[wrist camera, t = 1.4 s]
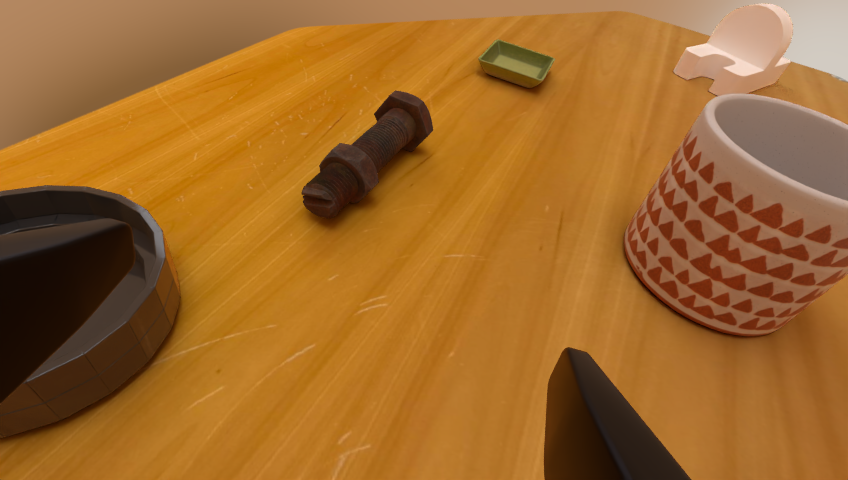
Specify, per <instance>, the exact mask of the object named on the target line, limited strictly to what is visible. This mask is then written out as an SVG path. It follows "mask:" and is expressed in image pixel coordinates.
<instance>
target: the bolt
mask: <svg viewBox="0 0 848 480" xmlns="http://www.w3.org/2000/svg"><path fill="white" fill-rule="evenodd" d="M374 115H375V117H376V120H377V123H376V124H375V125H374V126H373V127H371V128H370V129H369V130H367V131H366V132H365V133H364V134H363V135H362V136H361V137H360V138H359V139H357V140H356V141H355V142H354V143H353V144H352V145H348V144H342V143H340V144H338V145H337V146H336V147H335V148H334V149H332V150H331V152H330V153H329V154H328V155H327V156H326V157H325V158H324V160H323V161H322V162H321V164H320V165H319V167H320V173H319V174H318V175H316V176H315V177H314V178H313V179H312V180H311V181H310V182H308V183H307V185H306V186H304V188H303V190H302V194H303V195H304V196H303V198H304V200H303V203H304V205H305V207H306V208H307V209H308V210H309V211H311V212H312V213H314V214H316V215H317V216H320V217H324V218H333V217H335V216H336V215H337V214H338V213H339V212H340V210H342V209H343V208H344V207H345V206H346V205H347V203H349V202H354V203H358V202H359V201H360V200H361V199H363V198H364V197H365V196H366V195H367V194H368V193H369V192H370V191H371V190H372V189H373V188H374V186H375V185H376V184H377V183H378V182H379V180H378V174H377V173H378V172H379V171H380V170H381V169H382V168H383V167H384V166H385V165H386V164H387V163H388V162H389V161H390V160H391V159H392V158H393V157H394V156H395V155H396V154H397V153H398V152H399V150H401V149H405V150H407V151H410V152H412V151H413V150H414V149H415V148H416V147H417V146H418V145H419V144H420V143H421V142H422V141H423V140H424V139H425V138H426V137H427V136H428V135H429V134H430V133H431V132H432V131H433V126H432V120H431V116H430V113H429V110H428V108H427V106H426V105H425V103H424V102H423V101H422V100H421V99H419V98H418V97H416V96H414V95H412V94H409V93H406V92H401V91H394V92H393V93H392V94H391V95H389V97H388V98H387V99H386V100H385V101H384V103H383V104H382V105H381V106H380V107H379V109H378V110H377V111H376V112H375V113H374Z"/></svg>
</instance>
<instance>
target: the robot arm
mask: <svg viewBox="0 0 848 480" xmlns="http://www.w3.org/2000/svg"><path fill="white" fill-rule="evenodd" d="M134 263H135V249H134V241H133V233H132V228H131V227H130V225H129V224H127V223H125V222H122V221H118V220H114V219H110V218H104V219H98V220H92V221H86V222H79V223H73V224H67V225H61V226H55V227H48V228H42V229H36V230H30V231H24V232H17V233H11V234H5V235H0V404H1V403H2V402H4V401H5V400H6V399H7V398H8V397H9V396H10V395H11V394H12V393H13V392H14V391H15V390H16V389H17V388H18V387H19V386H20V385H21V384H22V383H23V382H24V381H25V380H27V379H28V378H29V377H30V376H31V375H32V374H33V373H34V372H35V371H36V370H37V369H38V368H39V367H40V366H41V365H42V364H43V363H44V362H45V361H46V360H47V359H48V358H50V357H51V356H52V355H53V354H54V353H55V352H56V351H57V350H58V349H59V348H60V347H61V346H62V345H63V344H64V343H65V342H66V341H67V340H68V339H69V338H70V337H71V336H73V335H74V334H75V333H76V332H77V331H78V330H79V329H80V328H81V327H82V325H83V324H84V323H85V322H86V321H87V320H88V319H89V318H90V317H91V316H92V314H93V313H94V312H95V311H96V310H97V309H98V307H99V306H100V305H101V304H102V303H103V302H104V300H105V299H106V298H107V297H108V296H109V295H110V293H111V292H112V291H113V290H114V289H115V288H116V286H117V285H118V284H119V283H120V282H121V281H122V280H123V278H124V277H125V276H126V275H127V274H128V273H129V271H130V270H131V269H132V267H133V265H134ZM544 477H545V480H691V479H690V477H689V476H688V475H687V474H686V472H685V471H684V470H683V469H682V468H681V466H680V465H679V464H678V463H677V461H676V460H675V459H674V458H673V457H672V455H671V454H670V453H669V452H668V450H667V449H666V448H665V447H664V446H663V444H662V443H661V442H660V441H659V439H658V438H657V437H656V436H655V435H654V433H653V432H652V431H651V430H650V428H649V427H648V426H647V425H646V424H645V422H644V421H643V420H642V419H641V417H640V416H639V415H638V414H637V412H636V411H635V410H634V409H633V408H632V406H631V405H630V404H629V403H628V401H627V400H626V399H625V398H624V397H623V395H622V394H621V393H620V392H619V390H618V389H617V388H616V387H615V386H614V384H613V383H612V382H611V381H610V379H609V378H608V377H607V376H606V375H605V373H604V372H603V371H602V370H601V368H600V367H599V366H598V365H597V364H596V362H595V361H594V360H593V359H592V357H591V356H590V355H589V354H588V353H587V352H584V351H581V350H577V349H573V348H570V347H568V348H565V349H564V350H563V352H562V353H561V356H560V358H559V360H558V362H557V364H556V366H555V368H554V370H553V372H552V374H551V376H550V379H549V383H548V390H547V408H546V427H545V445H544Z"/></svg>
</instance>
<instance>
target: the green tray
mask: <svg viewBox="0 0 848 480" xmlns="http://www.w3.org/2000/svg"><path fill="white" fill-rule="evenodd" d="M554 61H555V59H554V58H553V57H550V56H548V55H545V54H541V53H538V52H536V51H532V50H529V49H526V48H523V47H520V46H517V45H514V44H511V43H508V42H505V41H502V40H499V39H497V40H495V41H494V42H493V43H492V45H491V46H490V47H489V48H488V49H487V50H486V51H485V52H484V53H483V54H482V55H481V56H480V57H479V62H480V64H481V66H482V68H483V69H484V71H485V72H486V73H487V74H489V75H492V76H494V77H497V78H500V79H503V80H506V81H509V82H512V83H515V84H518V85H521V86H524V87H526V88H532V87H534V86H536V85H538V84H540V83H541V82H542V81H543V80H544V78H545V76H546V75H547V73H548V71H549V69H550V68H551V66H552V64H553V62H554Z"/></svg>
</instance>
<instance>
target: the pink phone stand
mask: <svg viewBox="0 0 848 480" xmlns="http://www.w3.org/2000/svg"><path fill="white" fill-rule="evenodd" d="M792 35H793V24H792V21H791V18H790V16H789V15H788V14H787V12H786V11H785V10H784V9H782V8H780V7H779V6H777V5H773V4H769V3H765V4H754V5H747V6H744V7H741V8H738V9H736V10H734V11H732V12H731V13H729V14H728V15H727V16H726V17H724V18H723V19H722V20H721V21H720V23H719V24H718V25H717V27H716V28H715V30H714V32H713V33H712V35H711V37H710V38H709V40H708V42H707V43H706V44H702V45H697V46H692V47H688V48H686V49H685V51H684V53H683V55H682V57H681V58H680V60H679V62H678V64H677V65H676V67H675V69H674V71H673V72H674V73H675V74H676V75H678V76H680V77H682V78H684V79H686V80H689V79H692V78H696V77H700V76H702V77H708V78H711V79H713V80H715V81H714V83H713V84H712V86H711V87H710V89H709V90H708V91H709V92H711V93H713V94H715V95H717V96H721V95H725V94H738V93H739V94H747V93H749V92H752V91H755V90H758V89H760V88H763V87H766V86H769V85H772V84H774V83H776V81H777V80H778V78H779V77H780V76H781V74H782V73H783V72H784V70H785V69H786V68H787V66H788V65H789V64H790V62H791V61H790V60H789V59H787V58H785V57H783V55H784V53H785V52H786V50H787V48H788V46H789V45H790V43H791V39H792Z"/></svg>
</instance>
